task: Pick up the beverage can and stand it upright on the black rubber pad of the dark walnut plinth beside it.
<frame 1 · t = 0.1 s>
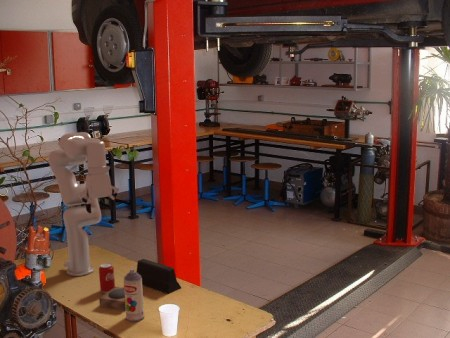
hand: (100, 210, 233), 37 cm above the workbench, tool pointing down, fingers open, 9 cm apart
barrier: (156, 285, 248), on the workbench
walnut plinth: (120, 303, 230), on the workbench
beverage can: (107, 291, 242), on the workbench
aerosol can: (135, 318, 216), on the workbench
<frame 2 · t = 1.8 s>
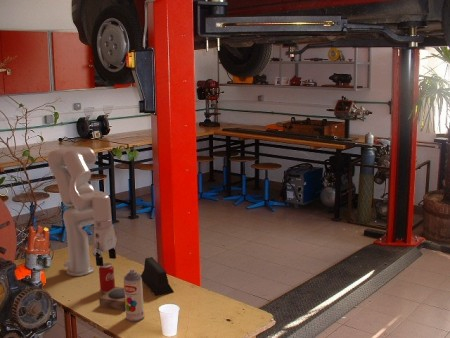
hand: (106, 262, 239), 14 cm above the workbench, tool pointing down, fingers open, 9 cm apart
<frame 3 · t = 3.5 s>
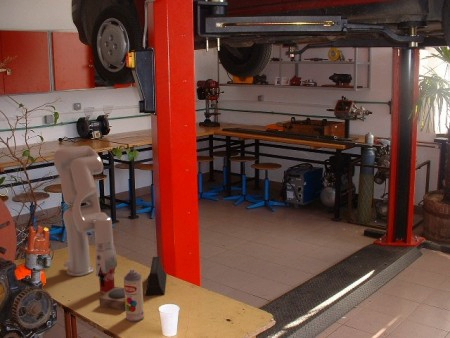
hand: (107, 284, 242), 3 cm above the workbench, tool pointing down, fingers closed on beverage can, 4 cm apart
beverage can: (107, 291, 242), on the workbench, touching gripper
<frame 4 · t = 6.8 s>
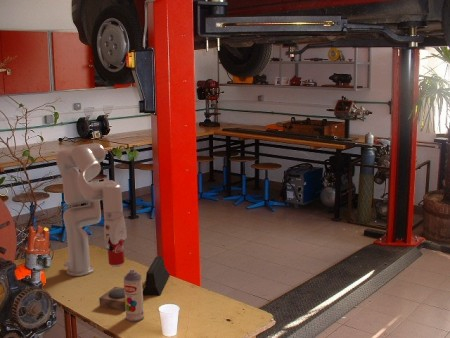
hand: (116, 257, 227), 20 cm above the workbench, tool pointing down, fingers closed on beverage can, 4 cm apart
beverage can: (116, 265, 226), point 17 cm above the workbench, touching gripper
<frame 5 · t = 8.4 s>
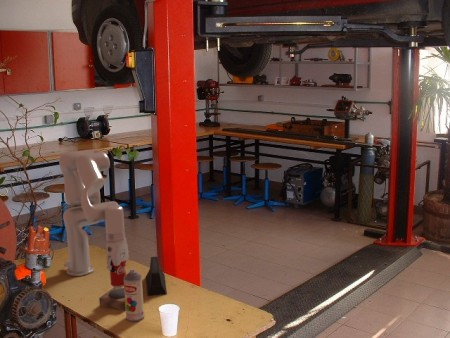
hand: (118, 278, 228), 11 cm above the workbench, tool pointing down, fingers closed on beverage can, 4 cm apart
beverage can: (118, 286, 228), point 8 cm above the workbench, touching gripper
when the fingers open (9 cm above the workbench, at t = 9.6 s): beverage can drops 1 cm, resting on walnut plinth.
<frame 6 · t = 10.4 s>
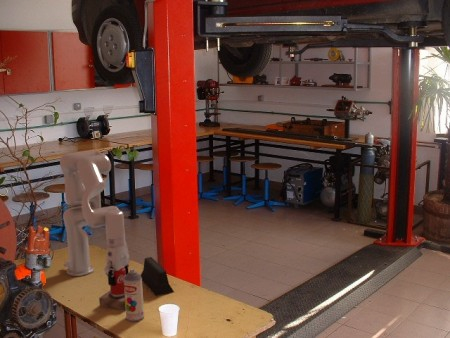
hand: (118, 280, 228), 10 cm above the workbench, tool pointing down, fingers open, 9 cm apart
beverage can: (118, 295, 227), point 4 cm above the workbench, touching gripper, walnut plinth
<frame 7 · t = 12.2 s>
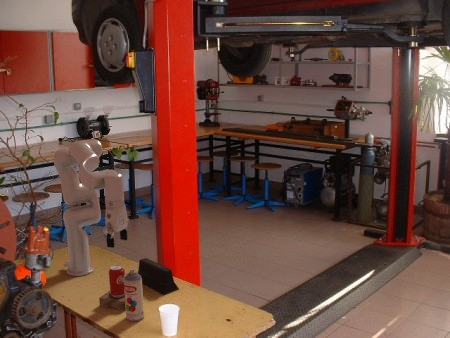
hand: (117, 243, 230), 24 cm above the workbench, tool pointing down, fingers open, 9 cm apart
beverage can: (118, 295, 227), point 4 cm above the workbench, touching walnut plinth
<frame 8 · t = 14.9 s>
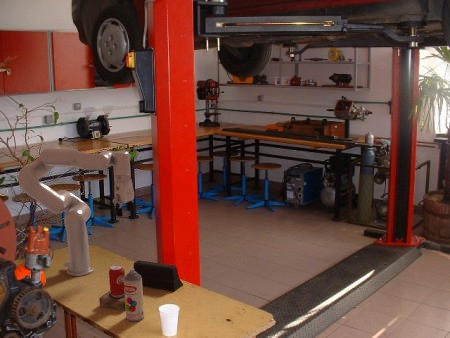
hand: (125, 213, 260), 28 cm above the workbench, tool pointing down, fingers open, 9 cm apart
at the end: beverage can inside the target area on the walnut plinth (1.9 cm from its centre), point 4.2 cm above the walnut plinth's base; beverage can tilted 0°; the gripper is holding nothing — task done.
